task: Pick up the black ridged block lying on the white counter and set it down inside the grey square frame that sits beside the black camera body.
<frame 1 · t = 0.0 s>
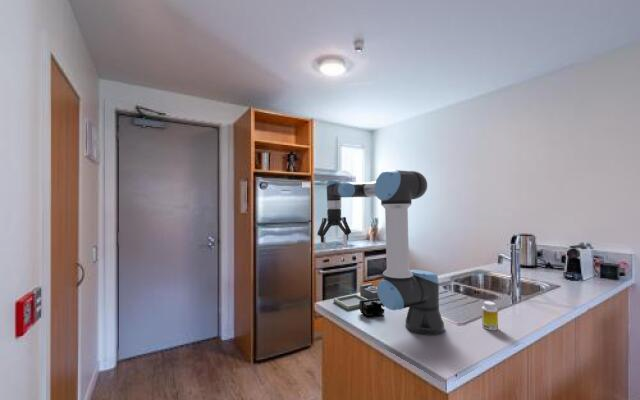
hand: (334, 247, 157), 28 cm above the worktop, fingers open, 13 cm apart
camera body: (372, 298, 156), on the worktop
grey square frame: (352, 303, 148), on the worktop
supplement bottle: (490, 328, 117), on the worktop
black ridged block: (372, 314, 134), on the worktop
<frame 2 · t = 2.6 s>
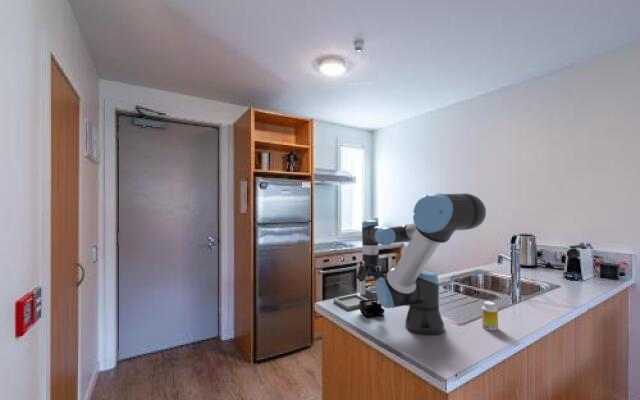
hand: (371, 298, 134), 7 cm above the worktop, fingers open, 13 cm apart
nothing on the worktop moved.
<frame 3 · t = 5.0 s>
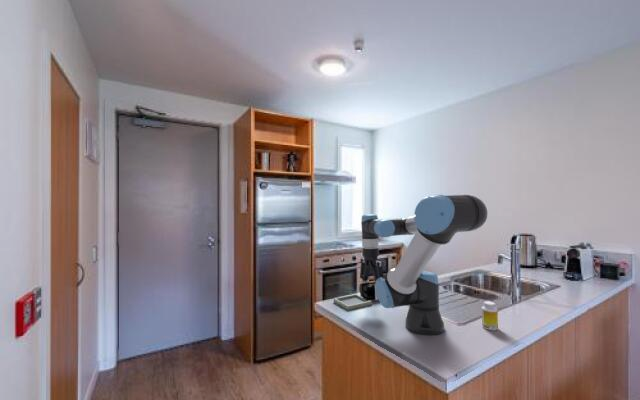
hand: (372, 296, 133), 8 cm above the worktop, fingers closed on black ridged block, 8 cm apart
black ridged block: (372, 297, 134), point 8 cm above the worktop, touching gripper
everything else where it was.
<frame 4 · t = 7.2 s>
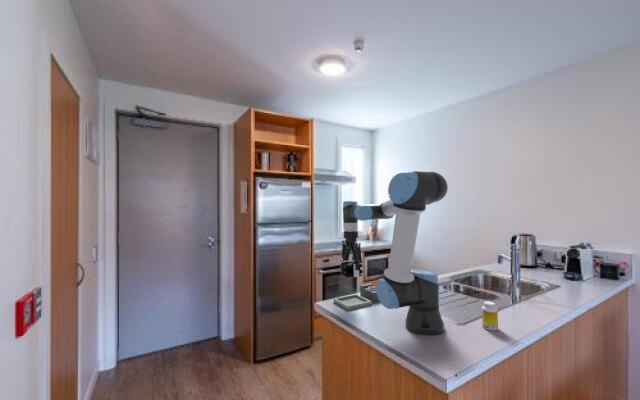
hand: (351, 274, 149), 15 cm above the worktop, fingers closed on black ridged block, 8 cm apart
black ridged block: (351, 275, 149), point 15 cm above the worktop, touching gripper
everything else where it was.
when the fingers open (2 cm above the worktop, at t = 9.8 s): black ridged block drops 1 cm, resting on grey square frame.
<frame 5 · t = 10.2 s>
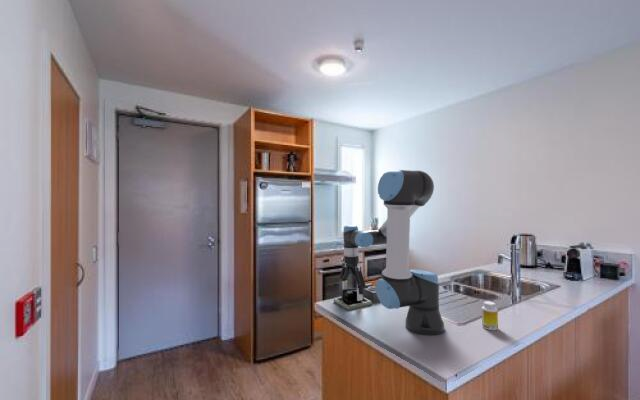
hand: (352, 296, 148), 4 cm above the worktop, fingers open, 13 cm apart
black ridged block: (352, 302, 148), point 1 cm above the worktop, touching grey square frame
everything else where it was.
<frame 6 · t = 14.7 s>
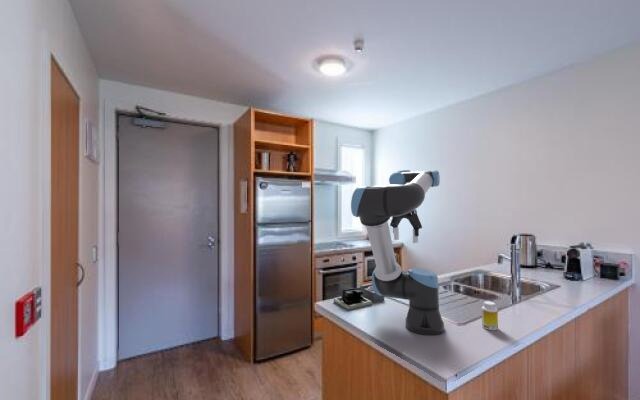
hand: (405, 241, 149), 32 cm above the worktop, fingers open, 13 cm apart
nothing on the worktop moved.
at the end: black ridged block inside the target area on the grey square frame (0.2 cm from its centre), point 0.6 cm above the grey square frame's base; the gripper is holding nothing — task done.
